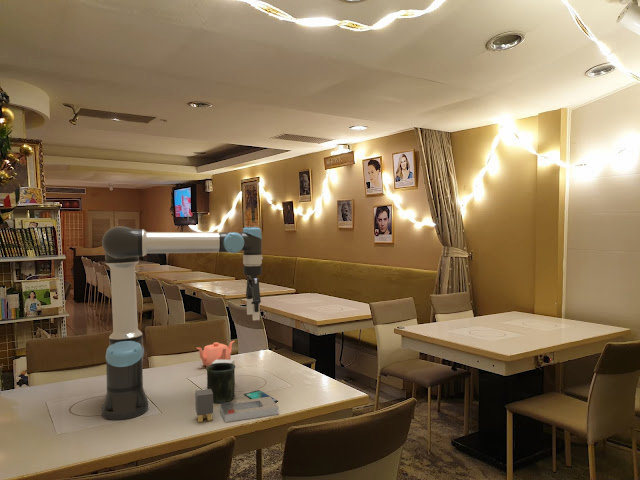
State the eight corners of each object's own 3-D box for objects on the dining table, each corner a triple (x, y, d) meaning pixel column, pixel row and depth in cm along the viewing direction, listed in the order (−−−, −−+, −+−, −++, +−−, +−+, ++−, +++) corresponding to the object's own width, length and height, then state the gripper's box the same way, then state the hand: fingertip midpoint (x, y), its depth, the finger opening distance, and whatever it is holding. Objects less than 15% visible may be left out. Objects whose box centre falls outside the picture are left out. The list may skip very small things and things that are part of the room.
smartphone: (261, 405, 167) (243, 393, 180) (261, 407, 167) (243, 395, 180) (279, 401, 172) (259, 389, 184) (279, 403, 172) (259, 391, 184)
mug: (210, 406, 168) (209, 372, 168) (201, 393, 181) (201, 362, 181) (239, 401, 173) (239, 368, 173) (229, 389, 186) (228, 359, 186)
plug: (197, 423, 153) (196, 395, 153) (195, 417, 158) (195, 390, 158) (213, 420, 155) (213, 393, 155) (211, 415, 160) (211, 388, 160)
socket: (225, 422, 154) (225, 413, 154) (220, 410, 164) (220, 402, 164) (278, 414, 160) (278, 405, 160) (270, 403, 170) (270, 395, 170)
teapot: (235, 361, 225) (235, 339, 225) (227, 370, 211) (226, 346, 211) (206, 361, 226) (205, 338, 226) (195, 370, 212) (195, 346, 212)
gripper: (268, 267, 181) (268, 322, 181) (256, 263, 204) (256, 311, 205) (248, 267, 178) (249, 323, 179) (238, 263, 202) (239, 312, 202)
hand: (253, 317), depth 192 cm, fingers open, 13 cm apart
